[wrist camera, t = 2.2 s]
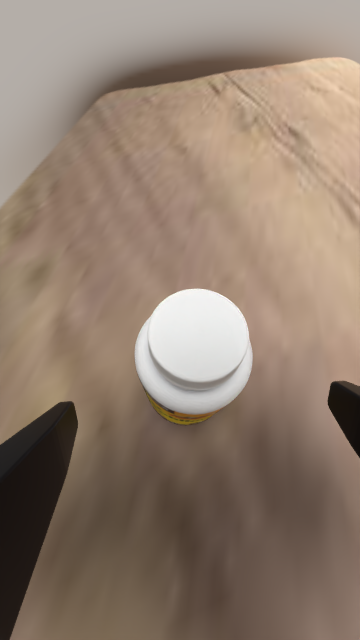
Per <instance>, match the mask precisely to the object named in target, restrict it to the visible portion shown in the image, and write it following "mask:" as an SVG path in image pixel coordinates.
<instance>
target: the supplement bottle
mask: <svg viewBox="0 0 360 640" xmlns="http://www.w3.org/2000/svg"><path fill="white" fill-rule="evenodd" d="M252 357H253V354H252V348H251V344H250V340H249V332H248V327H247V323H246V321H245V318H244V317H243V315H242V313H241V312H240V310H239V309H238V308H237V307H236V306H235V305H234V304H233V303H232V302H231V301H230V300H229V299H227V298H226V297H224V296H222V295H220V294H218V293H216V292H213V291H209V290H205V289H188V290H183V291H179V292H177V293H174V294H172V295H170V296H169V297H167V298H166V299H165V300H163V301H162V302H161V303H160V304H159V305H158V306H157V308H156V309H155V310H154V312H153V314H152V316H151V317H150V318H149V319H148V320H147V321H146V322H145V324H144V325H143V327H142V329H141V330H140V333H139V335H138V338H137V341H136V345H135V364H136V370H137V373H138V376H139V379H140V381H141V383H142V385H143V387H144V390H145V392H146V394H147V396H148V398H149V401H150V402H151V404H152V406H153V407H154V409H155V410H156V411H157V412H158V414H160V415H161V416H162V417H163V418H165V419H166V420H168V421H170V422H172V423H176V424H180V425H192V424H196V423H199V422H202V421H204V420H206V419H208V418H209V417H211V416H212V415H214V414H215V413H216V412H218V411H219V410H221V409H222V408H223V407H225V406H226V405H228V404H229V403H230V402H232V401H233V400H234V399H235V398H236V397H237V396H238V395H239V394H240V392H241V391H242V390H243V388H244V387H245V385H246V383H247V381H248V379H249V376H250V373H251V369H252Z"/></svg>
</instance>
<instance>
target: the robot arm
mask: <svg viewBox="0 0 360 640" xmlns="http://www.w3.org/2000/svg"><path fill="white" fill-rule="evenodd" d="M328 406H329V409H330V410H331V412H332V414H333V416H334V417H335V419H336V421H337V422H338V424H339V426H340V428H341V429H342V431H343V433H344V434H345V436H346V438H347V440H348V441H349V443H350V444H351V446H352V448H353V449H354V451H355V452H356V454H357V455H358V456H359V458H360V386H357V385H355V384H352V383H349V382H347V381H334V382H332V383H331V386H330V391H329V396H328ZM77 428H78V420H77V416H76V411H75V406H74V403H73V402H72V401H68V402H60V403H58V404H57V405H55V406H54V407H52V408H51V409H50V410H48V411H47V412H45V413H44V414H43V415H41V416H40V417H39V418H37V419H36V420H34V421H33V422H32V423H30V424H29V425H27V426H26V427H25V428H23V429H22V430H20V431H19V432H18V433H16V434H15V435H13V436H12V437H11V438H9V439H8V440H6V441H5V442H4V443H2V444H1V445H0V640H10V637H11V634H12V631H13V628H14V625H15V623H16V620H17V617H18V614H19V611H20V608H21V605H22V602H23V599H24V597H25V594H26V591H27V588H28V585H29V582H30V579H31V576H32V573H33V571H34V568H35V565H36V562H37V559H38V556H39V553H40V550H41V547H42V545H43V542H44V539H45V536H46V533H47V530H48V527H49V524H50V521H51V519H52V516H53V513H54V510H55V507H56V504H57V501H58V498H59V495H60V493H61V490H62V487H63V484H64V481H65V478H66V475H67V471H68V467H69V463H70V459H71V454H72V450H73V446H74V441H75V437H76V433H77Z"/></svg>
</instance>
